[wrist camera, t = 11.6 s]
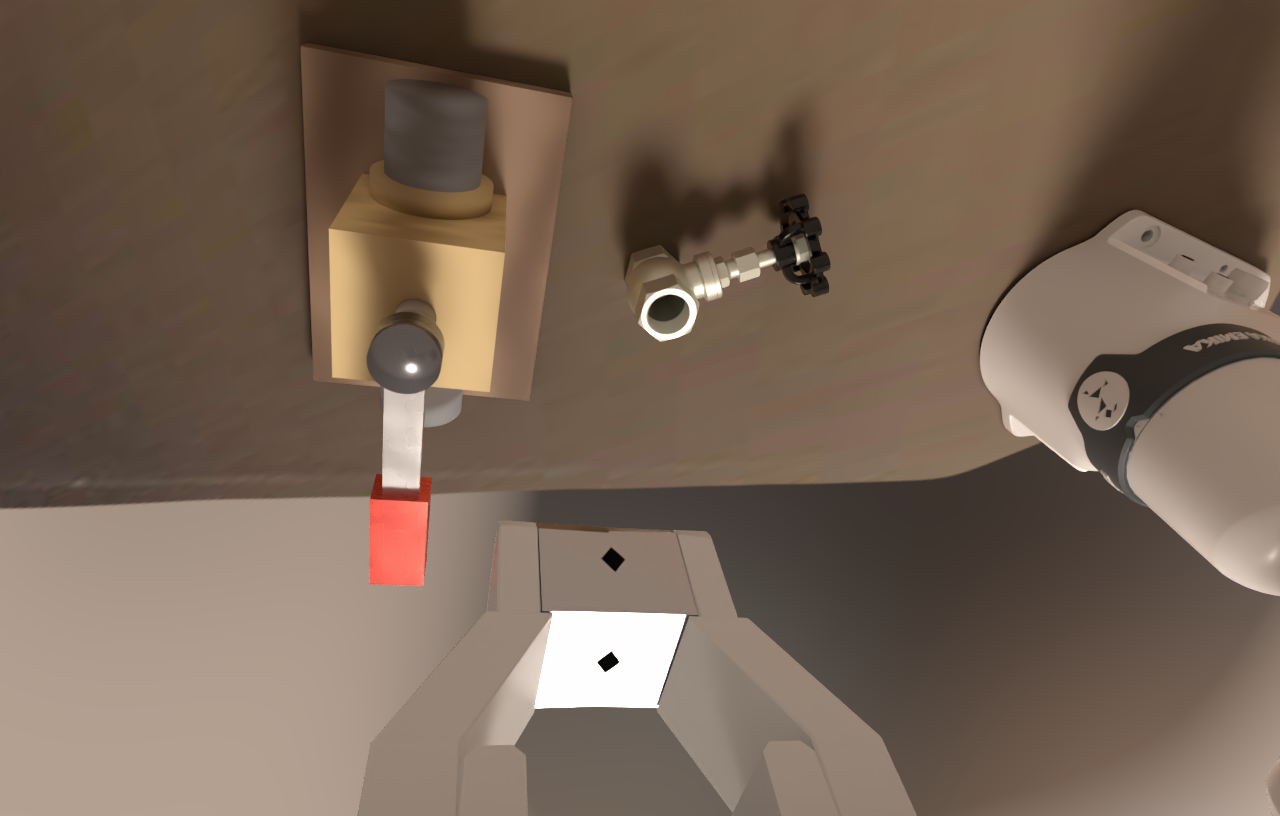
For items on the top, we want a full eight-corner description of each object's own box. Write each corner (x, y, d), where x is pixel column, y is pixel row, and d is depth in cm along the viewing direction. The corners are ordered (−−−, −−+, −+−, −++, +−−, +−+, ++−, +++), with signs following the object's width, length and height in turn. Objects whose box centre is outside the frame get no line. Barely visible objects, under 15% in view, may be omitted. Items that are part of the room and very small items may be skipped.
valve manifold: (571, 92, 41) (590, 149, 31) (528, 389, 52) (532, 507, 41) (307, 42, 38) (228, 86, 28) (318, 368, 49) (264, 492, 38)
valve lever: (373, 307, 33) (366, 327, 31) (446, 316, 34) (443, 336, 32) (371, 557, 41) (365, 583, 39) (430, 559, 42) (426, 585, 40)
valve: (634, 322, 50) (801, 270, 50) (649, 370, 45) (836, 312, 44) (607, 234, 46) (787, 177, 46) (619, 275, 41) (824, 211, 41)
